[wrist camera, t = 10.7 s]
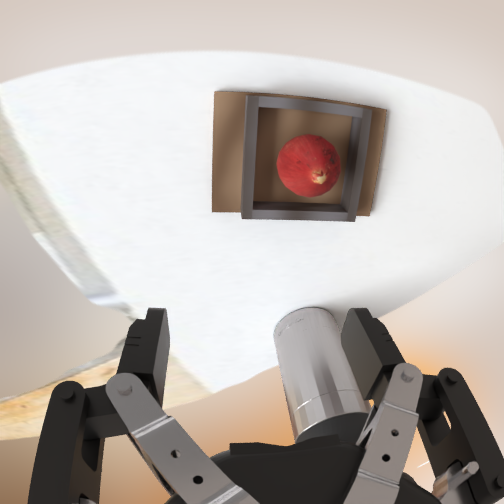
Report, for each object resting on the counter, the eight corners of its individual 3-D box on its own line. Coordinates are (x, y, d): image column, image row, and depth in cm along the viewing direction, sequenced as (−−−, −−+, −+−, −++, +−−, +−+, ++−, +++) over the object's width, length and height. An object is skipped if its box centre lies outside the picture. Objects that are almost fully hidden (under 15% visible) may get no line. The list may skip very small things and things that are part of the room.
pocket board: (382, 108, 30) (398, 112, 27) (366, 213, 36) (378, 225, 33) (214, 91, 28) (213, 91, 25) (212, 208, 34) (211, 221, 31)
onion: (309, 119, 29) (336, 129, 22) (336, 165, 32) (367, 188, 25) (260, 149, 30) (272, 168, 23) (290, 193, 33) (309, 224, 26)
